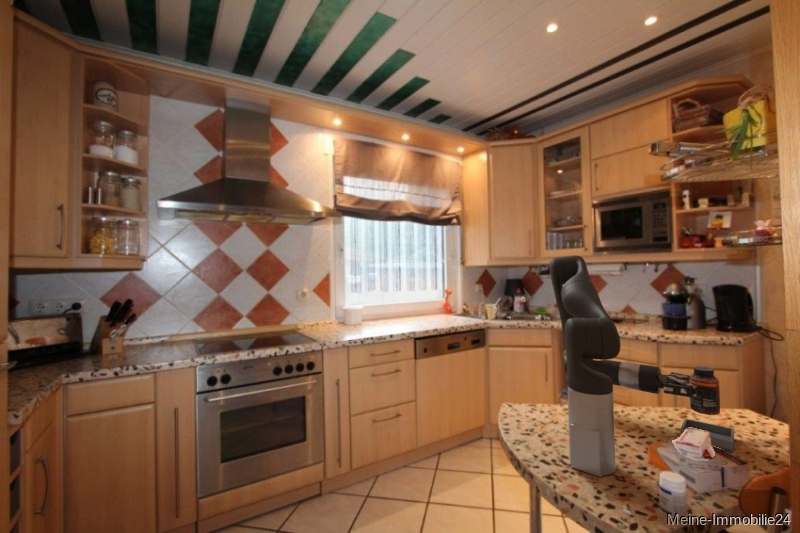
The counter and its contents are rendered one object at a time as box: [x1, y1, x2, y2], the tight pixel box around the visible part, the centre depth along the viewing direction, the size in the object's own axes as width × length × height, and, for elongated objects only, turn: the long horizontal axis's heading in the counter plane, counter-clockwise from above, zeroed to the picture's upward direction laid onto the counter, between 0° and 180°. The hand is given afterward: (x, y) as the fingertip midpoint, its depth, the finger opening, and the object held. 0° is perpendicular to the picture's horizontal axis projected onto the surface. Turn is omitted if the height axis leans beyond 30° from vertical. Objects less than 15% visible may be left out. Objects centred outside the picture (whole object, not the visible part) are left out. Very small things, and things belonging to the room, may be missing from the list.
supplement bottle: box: [689, 365, 721, 416], centre depth 92 cm, size 6×6×11 cm
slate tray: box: [679, 418, 735, 453], centre depth 92 cm, size 10×10×2 cm
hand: (717, 390), depth 91 cm, fingers closed on supplement bottle, 6 cm apart
